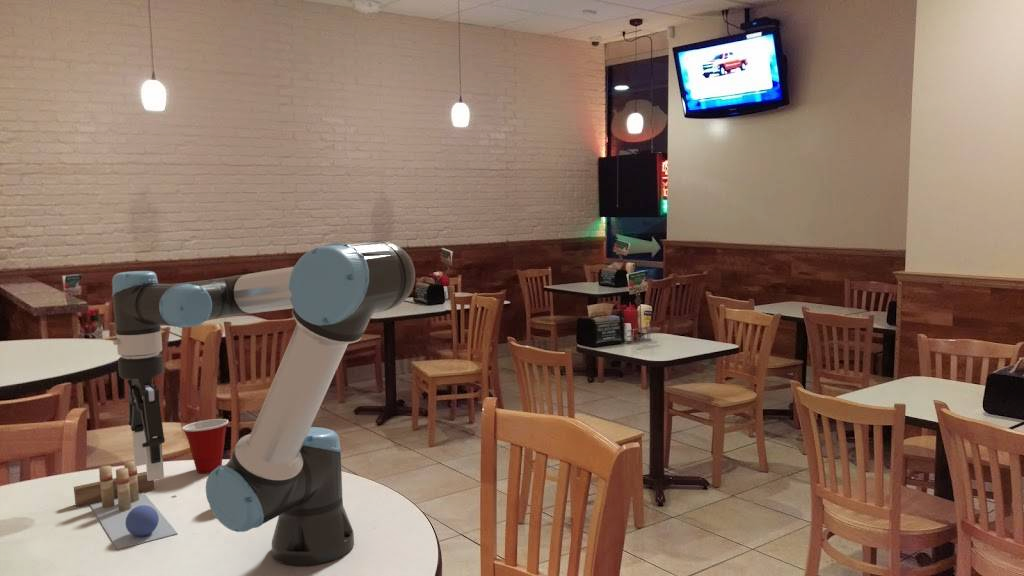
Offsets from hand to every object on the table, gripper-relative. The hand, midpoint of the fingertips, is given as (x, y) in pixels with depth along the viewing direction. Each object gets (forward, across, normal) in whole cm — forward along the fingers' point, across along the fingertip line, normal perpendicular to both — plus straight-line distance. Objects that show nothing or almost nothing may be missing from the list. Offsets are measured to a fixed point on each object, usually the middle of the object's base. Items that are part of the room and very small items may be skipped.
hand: (149, 471), depth 147 cm
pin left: (+16, -31, -3) cm, 35 cm away
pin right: (+16, -31, +2) cm, 35 cm away
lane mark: (+16, -20, 0) cm, 25 cm away
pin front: (+16, -26, 0) cm, 31 cm away
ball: (+13, -9, 0) cm, 16 cm away
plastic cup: (+16, -42, +22) cm, 50 cm away
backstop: (+16, -36, 0) cm, 40 cm away
